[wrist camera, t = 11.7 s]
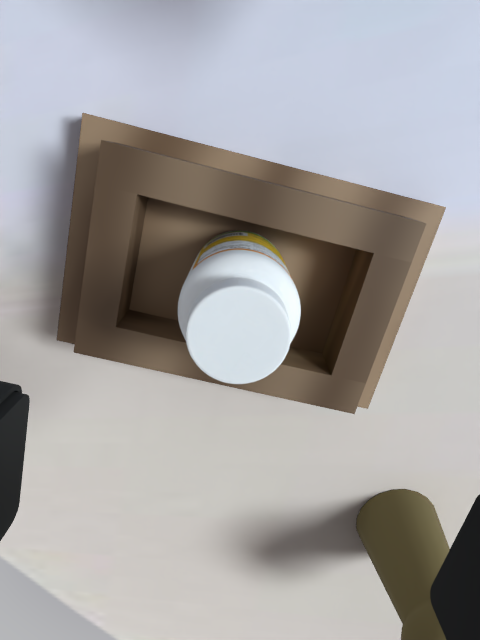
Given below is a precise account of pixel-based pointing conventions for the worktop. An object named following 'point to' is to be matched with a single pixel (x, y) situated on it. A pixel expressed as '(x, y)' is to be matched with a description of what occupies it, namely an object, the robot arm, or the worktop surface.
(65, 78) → the worktop surface
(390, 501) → the cork
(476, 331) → the worktop surface
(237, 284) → the supplement bottle
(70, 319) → the brown rectangular recessed tray
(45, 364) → the worktop surface
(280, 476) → the worktop surface
